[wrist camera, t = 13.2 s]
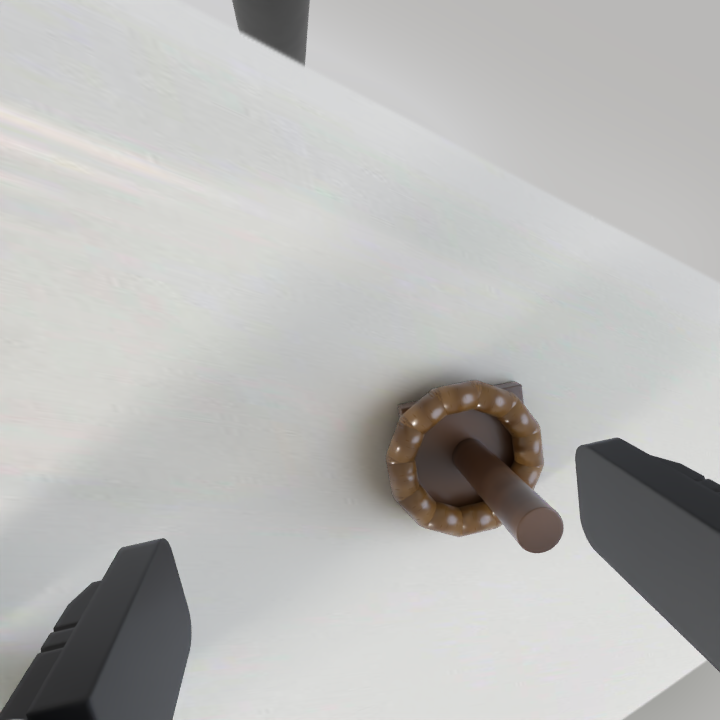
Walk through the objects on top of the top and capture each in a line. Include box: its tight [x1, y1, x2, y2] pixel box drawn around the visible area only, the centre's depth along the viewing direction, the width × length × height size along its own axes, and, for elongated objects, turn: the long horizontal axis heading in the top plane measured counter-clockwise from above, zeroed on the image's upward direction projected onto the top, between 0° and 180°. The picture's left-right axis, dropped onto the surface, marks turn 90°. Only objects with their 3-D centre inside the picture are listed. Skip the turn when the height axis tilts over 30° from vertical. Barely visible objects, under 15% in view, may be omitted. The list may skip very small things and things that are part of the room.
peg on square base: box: [398, 381, 563, 553], centre depth 33 cm, size 9×9×12 cm
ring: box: [386, 380, 544, 537], centre depth 37 cm, size 11×11×2 cm
